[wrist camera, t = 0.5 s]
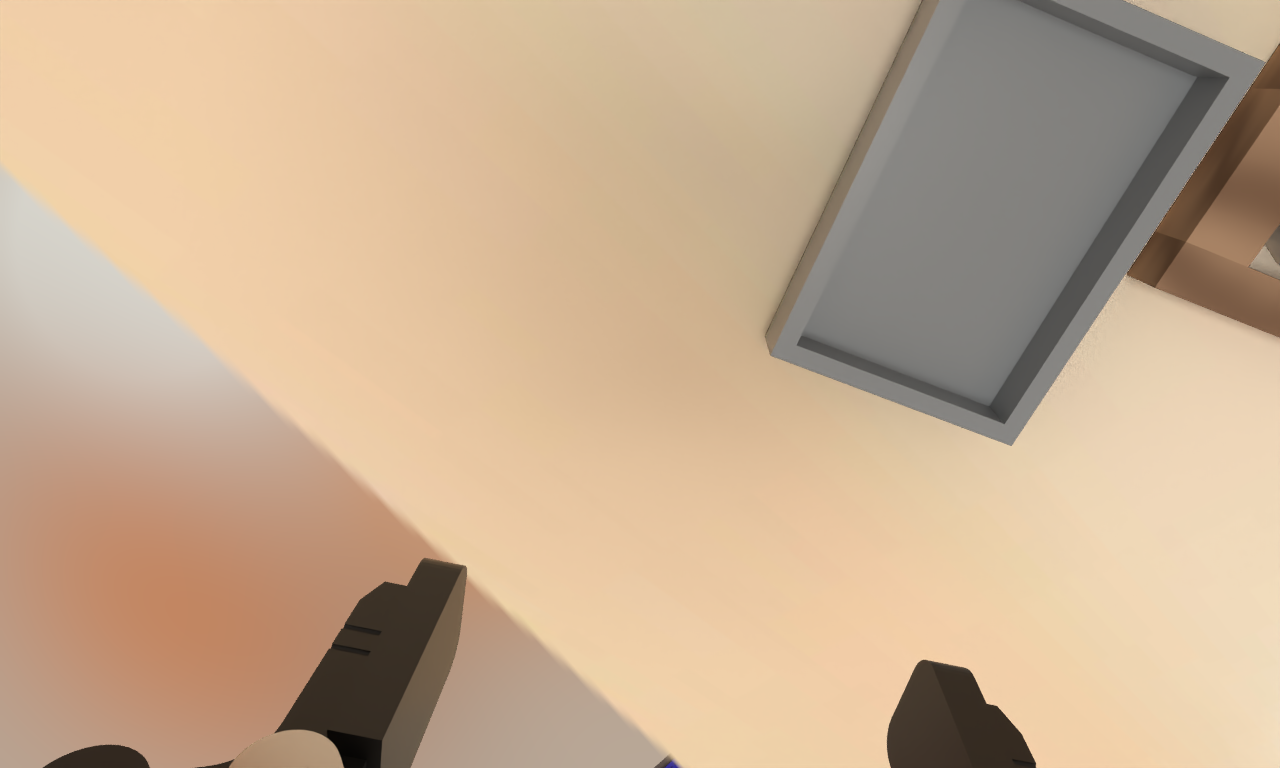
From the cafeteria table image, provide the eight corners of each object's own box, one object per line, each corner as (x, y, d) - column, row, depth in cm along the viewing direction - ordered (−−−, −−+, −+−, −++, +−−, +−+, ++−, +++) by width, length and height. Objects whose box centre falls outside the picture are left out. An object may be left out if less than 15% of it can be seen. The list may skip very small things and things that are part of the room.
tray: (947, -54, 33) (971, -66, 30) (1218, 63, 34) (1265, 62, 31) (764, 336, 40) (770, 355, 38) (990, 421, 41) (1011, 446, 39)
